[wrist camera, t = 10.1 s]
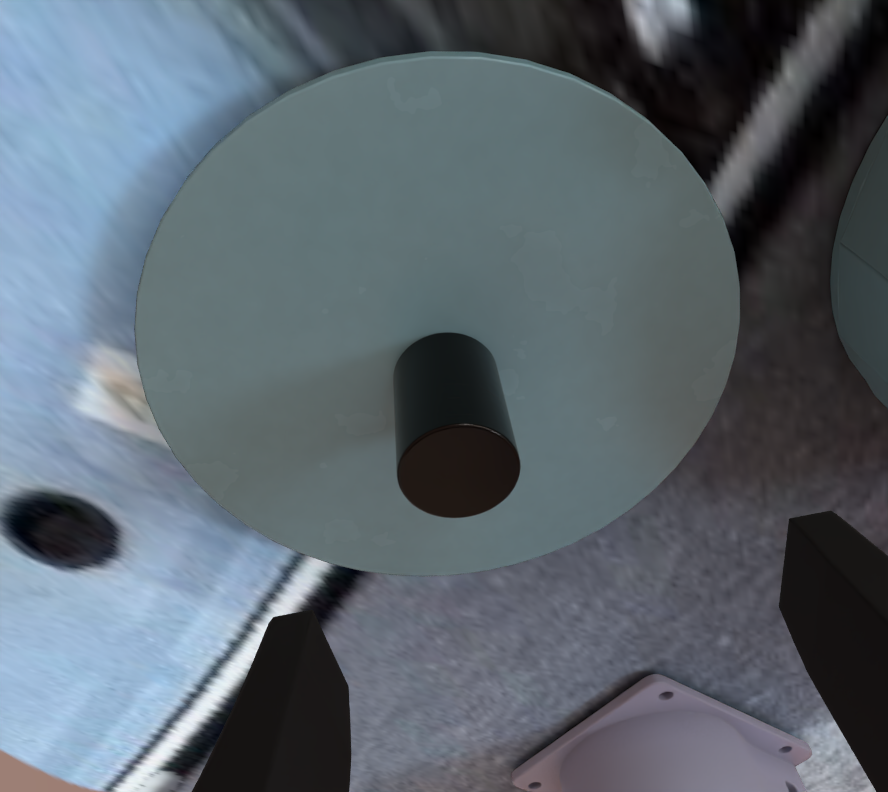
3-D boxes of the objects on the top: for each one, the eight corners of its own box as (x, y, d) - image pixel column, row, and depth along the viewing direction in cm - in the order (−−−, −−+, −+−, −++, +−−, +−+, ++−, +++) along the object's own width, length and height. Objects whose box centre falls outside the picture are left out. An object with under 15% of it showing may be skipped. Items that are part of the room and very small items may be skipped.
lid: (532, 594, 23) (561, 729, 20) (84, 460, 19) (14, 601, 15) (844, 228, 17) (975, 327, 13) (271, -109, 12) (228, -102, 9)
